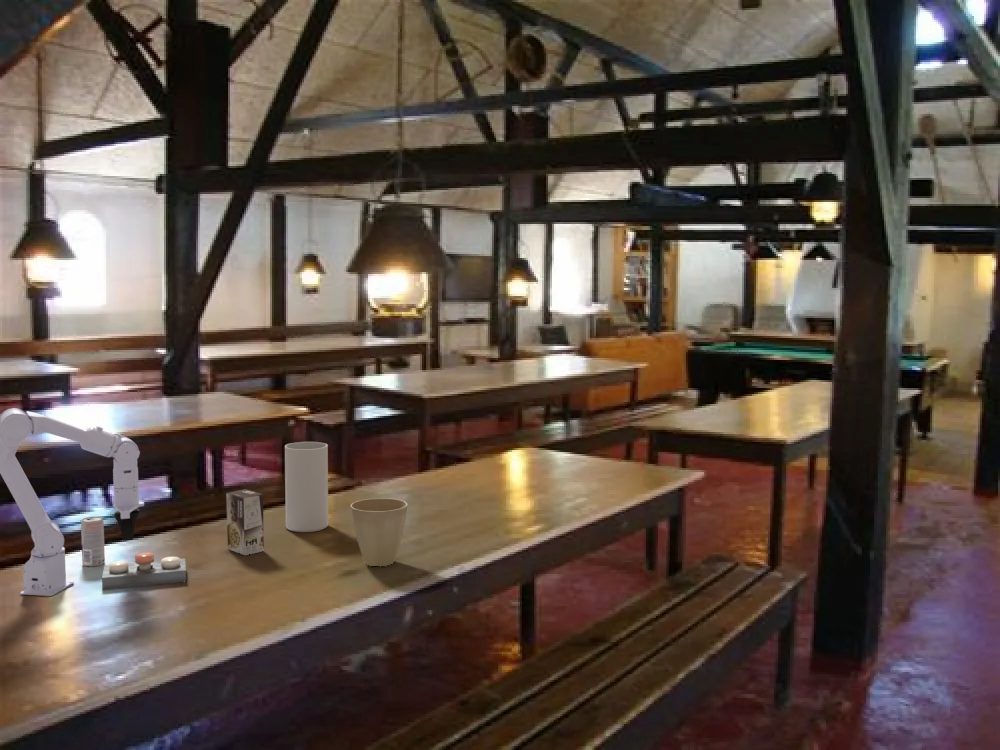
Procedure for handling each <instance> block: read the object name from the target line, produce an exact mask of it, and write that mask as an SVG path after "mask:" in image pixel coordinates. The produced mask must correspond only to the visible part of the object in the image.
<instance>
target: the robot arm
mask: <svg viewBox="0 0 1000 750" xmlns="http://www.w3.org/2000/svg"><path fill="white" fill-rule="evenodd" d="M44 433H47V434H50V435H53V436H56V437H59V438H64V439H67V440H70V441H74V442H77V443H79V445H80V448H81V449H82V450H85V451H87V452H90V453H93V454H96V455H98V456H103V457H106V458H113V461H112V462H113V469H112V473H113V474H112V476H113V477H112V481H113V500H114V501H113V509H114V510H116V511H115V512H114V515H113V516H114V518H115V520H116V522H117V524H118V527H119V529H120V534H121V538H122V540H123V542H126V541H127V542H128V541H133V539H134V534H135V529H136V528H135V527H136V521H137V519H138V517H139V515H140V509H139V508H140V507H144V506H145V502H144V501H140V493H139V492H140V491H139V490H140V489H139V488H140V487H139V467H138V459H139V457H140V454H141V451H140V450H139V449H140V448H139V447H138V445H137V443H135V442H134V441H133V440H132V439H130V438H128V437H127V436H123V435H122V434H120V433H117V434H114V433H112V432H108V431H105V430H104V429H103V427H101V426H96V427H94V426H90V427H88V428H85V429H83V428H80V427H77V426H74V425H72V424H69V423H66V422H63V421H60V420H59V419H56V418H52V417H50V416H48V415H45V414H40V413H36V412H33V411H28V410H26V412H25V411H24V410H23V409H20V408H15V407H13V408H8V409H6V410H4V411H3V412H2V413H1V414H0V476H1V477H2V479H3V480H4V483H5V484H6V486H7V488H8V490H9V492H10V494H11V496H12V497H13V499H14V500H15V503H16V505H17V506H18V509H20V512H21V514H22V516H23V517H24V519H25V521H26V523H27V525H28V527H29V529H30V531H31V534H30V535H31V539H32V542H33V544H34V547H33V548H32V550H31V551H30V558H29V560H27V561H26V562H25V564H24V565H23V567H22V577H23V579H22V581H23V590H22V591H20V595H24V596H25V595H28V596H29V595H30V596H40V597H41V596H43V597H45V596H46V597H52V596H54V595H56V594H57V593H59V592H61V591H63V590H64V589H66V588H68V587H70V586H71V585H74V583H75V581H73V580H67V574H66V554H65V553H66V548H65V547H64V545H65V537H64V535H63V533H62V532H61V530H60V526H59V525H58V524H57V523H56V522H54V521H53V520H52V519H50V517H49V515H48V513H47V512H46V510H45V509H44V506H43V504H42V503H41V501H40V499H39V497H38V496H37V493H36V492H35V490H34V488H33V486H32V485H31V483H30V481H29V479H28V477H27V474H25V472H24V470H23V467H22V466H21V464H20V462H19V461H18V459H17V457H16V453H17V452H18V449H19V447H20V444H22V442H23V441H24V440H25V439H27V437H28V436H29V435H30V434H32V436H33V437H34V436H38V435H41V434H44Z"/></svg>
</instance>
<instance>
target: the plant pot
mask: <svg viewBox="0 0 1000 750" xmlns="http://www.w3.org/2000/svg"><path fill="white" fill-rule="evenodd" d="M350 510H351V511H350V512H351V517H352V523H353V528H354V533H355V536H356V540H357V544H358V547H359V550H360V552H361V556H362V558H363V561H364V563H365V565H366V564H367V566H368V565H370V566H369V567H371V566H380V567H379V568H382V567H381V566H385V567H388V566H387V565H389V566H391V565H390V564H392V565H393V564H394V563H395V560H396V557H397V554H398V551H399V549H400V546H401V541H402V538H403V534H404V529H405V523H406V520H407V519H406V518H407V511H408V503H407V502H406V501H405V500H403V499H397V498H387V497H382V498H381V497H379V498H378V497H377V498H367V499H361V500H356V501H354V502H352V503H351V504H350ZM393 562H394V563H393Z"/></svg>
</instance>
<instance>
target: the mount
mask: <svg viewBox="0 0 1000 750" xmlns="http://www.w3.org/2000/svg"><path fill="white" fill-rule="evenodd" d="M186 568H187V567H186V558H180V566H178V567H175V568H162V567H161V560H154V562H152V563H151V570H139V564H136V563H135V562H130V563H129V562H128V570H127V571H125V572H121V573H111V572H109V564H105V565H104V567H103V572H102V577H101V588H102V589H101V590H103V591H105V590H104V589H107V590H117V589H116V588H118V589H127V588H128V587H129V588H137V587H139V588H140V587H147V586H148V587H149V586H158V585H159V584H161V585H168V584H167V583H171V584H178V583H177V582H182V583H185V582H184V581H186V582H187V573H186V572H187V571H186V570H187V569H186ZM114 588H115V589H114Z"/></svg>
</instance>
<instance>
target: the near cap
mask: <svg viewBox="0 0 1000 750" xmlns="http://www.w3.org/2000/svg"><path fill="white" fill-rule="evenodd" d="M128 563H129V561H126V560H118V561H113V562H110V563H108V565H109V572H111V573H121V572H125V571H127V570H128Z"/></svg>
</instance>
